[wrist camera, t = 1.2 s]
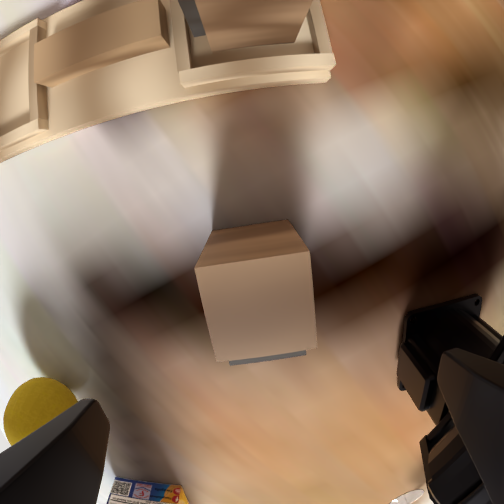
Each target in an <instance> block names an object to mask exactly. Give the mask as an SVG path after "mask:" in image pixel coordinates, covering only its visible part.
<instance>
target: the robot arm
mask: <svg viewBox="0 0 504 504" xmlns="http://www.w3.org/2000/svg"><path fill="white" fill-rule="evenodd" d="M475 301H476V302H475ZM481 304H482V298H481V296H479V295H478V294H473V295H469V296H466V297H462V298H459V299H455V300H452V301H448V302H444V303H441V304H437V305H433V306H429V307H425V308H421V309H417V310H413V311H410V312H408V313H407V314H406V316H405V318H404V329H403V340H402V344H401V345H400V349H399V359H398V367H397V376H398V382H397V386H398V388H399V389H400V390H401V391H404V390H407V392H408V393H409V395H410V397H411V398H412V400H413V402H414V403H415V405H416V407H417V408H418V410H420V411H421V412H422V411H425V410H426V411H427V412H428V414H429V415H430V417H431V419H432V420H433V422H434V423H435V425H436V426H435V428H434V429H433V430H432V431H431V432H430V433H429V434H428V435H425V436H424V437H423V439H422V440H421V441H420V448H421V453H422V459H423V465H424V471H425V477H426V484H427V489H428V493H429V497H430V499H431V500H432V501H433V503H434V504H504V336H502V335H500V334H499V333H498V332H497V331H496V330H494V329H493V328H492V327H491V326H489V325H488V324H487V323H486V322H485V321H483V320H482V319H481V318H480V317H479V316H480V310H481ZM413 317H414V319H413V320H412V321H410V320H411V319H412V318H413ZM109 431H110V424H109V420H108V419H107V417H106V415H105V413H104V411H103V410H102V408H101V406H100V404H99V402H98V401H97V400H94V399H82V400H80V401H79V402H77V403H76V404H74V405H73V406H71V407H70V408H68V409H67V410H65V411H64V412H62V413H61V414H59V415H58V416H56V417H55V418H53V419H52V420H50V421H49V422H47V423H46V424H44V425H43V426H41V427H40V428H38V429H37V430H35V431H34V432H32V433H31V434H29V435H28V436H26V437H25V438H23V439H22V440H20V441H19V442H17V443H16V444H14V445H13V446H11V447H9V448H8V449H6V450H5V451H3V452H2V453H0V504H96V502H97V497H98V493H99V489H100V485H101V481H102V476H103V471H104V465H105V457H106V450H107V444H108V438H109Z"/></svg>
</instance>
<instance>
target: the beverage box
mask: <svg viewBox="0 0 504 504" xmlns="http://www.w3.org/2000/svg"><path fill="white" fill-rule="evenodd" d="M107 504H189V502H188V500H187V498H186V496H185V493H184V491H183V489H182V486H181V485H172V484H162V483H154V482H146V481H139V480H132V479H126V478H120V477H115V480H114V483H113V486H112V489H111V492H110V495H109V498H108V501H107Z"/></svg>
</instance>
